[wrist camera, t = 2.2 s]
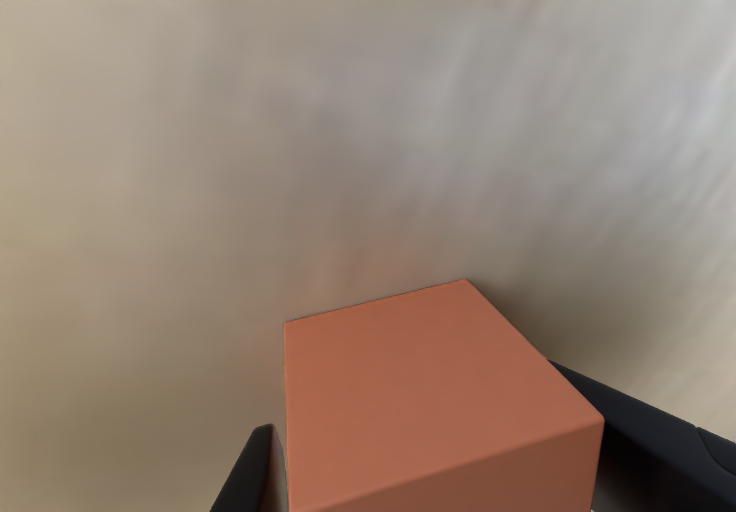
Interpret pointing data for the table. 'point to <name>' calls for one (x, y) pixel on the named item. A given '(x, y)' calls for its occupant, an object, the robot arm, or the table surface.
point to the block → (432, 412)
